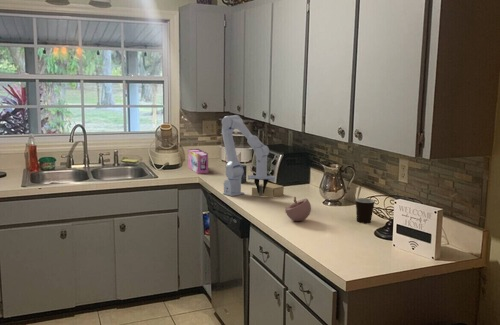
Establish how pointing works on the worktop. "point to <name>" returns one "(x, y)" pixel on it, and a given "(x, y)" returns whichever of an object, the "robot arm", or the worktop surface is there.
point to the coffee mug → (364, 209)
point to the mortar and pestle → (298, 210)
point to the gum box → (198, 160)
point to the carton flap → (266, 193)
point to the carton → (275, 189)
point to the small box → (243, 174)
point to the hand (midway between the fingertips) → (261, 192)
